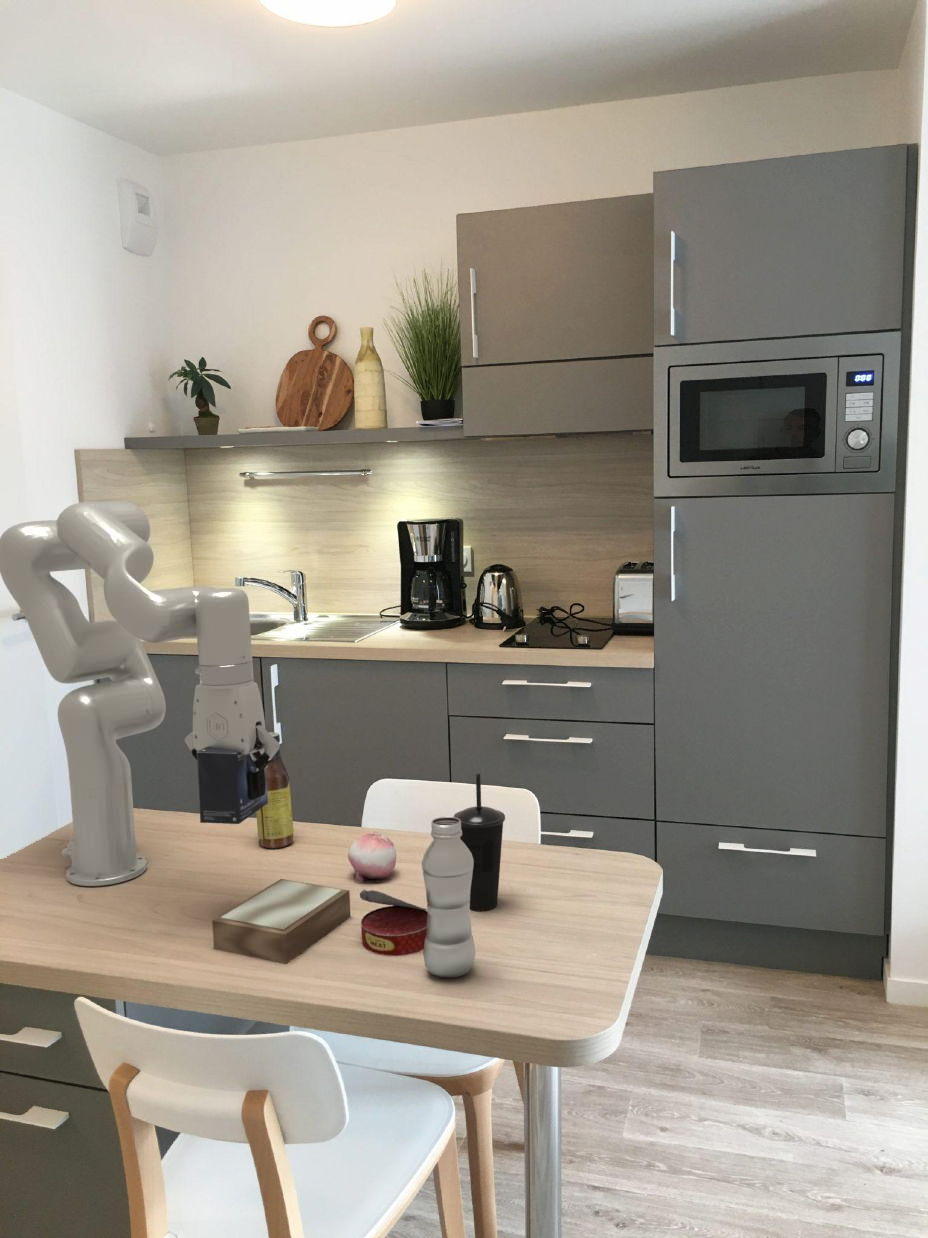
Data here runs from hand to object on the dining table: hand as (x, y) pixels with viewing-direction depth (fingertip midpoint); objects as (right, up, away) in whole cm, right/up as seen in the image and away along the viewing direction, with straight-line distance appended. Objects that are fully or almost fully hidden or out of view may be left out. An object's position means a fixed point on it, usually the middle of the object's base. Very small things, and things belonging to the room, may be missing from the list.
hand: (234, 794), depth 146 cm
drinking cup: (+36, -17, +3) cm, 40 cm away
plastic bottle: (+32, -20, -18) cm, 41 cm away
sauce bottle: (0, -15, +32) cm, 35 cm away
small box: (0, -3, 0) cm, 3 cm away
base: (+8, -19, -4) cm, 21 cm away
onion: (+19, -16, +16) cm, 29 cm away
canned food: (+24, -19, -8) cm, 32 cm away
